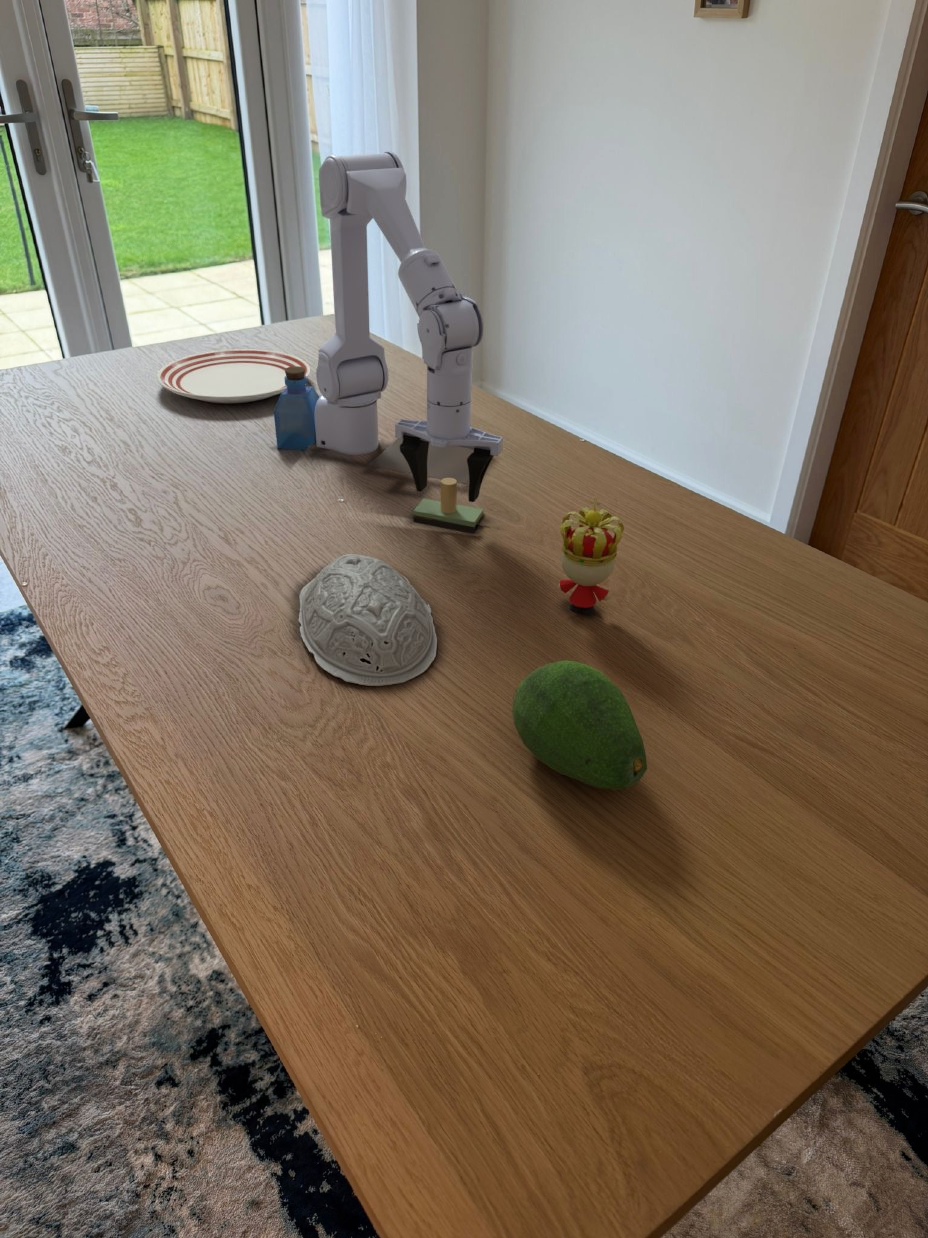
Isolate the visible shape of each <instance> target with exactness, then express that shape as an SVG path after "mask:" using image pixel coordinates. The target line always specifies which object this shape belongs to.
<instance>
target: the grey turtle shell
mask: <svg viewBox="0 0 928 1238" xmlns="http://www.w3.org/2000/svg"><path fill="white" fill-rule="evenodd" d="M298 598H299V603H300V604H299V606H300V607H299V613H298V616H299V617H298V623H299V624H300V627H299V631H300V637H301V639H302V641H303V643H304V645H305V647H306V648H307V650H308V652H309V653H311V654H313V657H314V660H315V662H316V663H317V665H318V666H319V667H320V668H322V670H324V671H326V672H327V673H329V674H330V675H332V676H334V677H336V678H340V679H341V680H343V682H346V683H352V684H358V685H360V686H368V687H382V686H392V685H399V684H404V683H406V682H408V681H410V680H412V679H414V678H416V677H418V676H420V675H421V674H423V673H424V672H426V671H427V670H428V669H429V667H430V666H431V664H432V663H433V661H435V658H436V656H437V647H438V638H437V633H436V627H435V625H434V618H433V616H432V612H433V611H432V608H431V606H430V603H428V602H427V601H426V602H425V600H424V599H422V597H421V595H420V593H418V591H417V590H416V588H414V586H413V585H411V582H410V581H409V579H408V578H407V577H406V576H404V575H403V574H401V573H400V572H399V571H397V569H395V568H394V567H393V565H391V564H389V563H387V562H386V561H383V560H381V559H379V558H375V557H371V556H370V555H365V554H356V553H353V554H352V553H346V554H343V555H341V556H336V558H335V559H333V560H332V561H331V562H329V564H327V565H325V566H324V567H323V568H322V569H321V570H320V572H319V573H316V576H315V577H314V578H312V579H311V580H310V581H309V582H308V583H307V584H306V585H305V586H303V587H302V589H301V590H300V592H299V596H298ZM344 653H345V654H344ZM367 654H368V655H367ZM361 659H364V660H366V661H369V662H370V663H368V662H366V661H364V662H363V661H362V660H361ZM377 667H378V669H377Z"/></svg>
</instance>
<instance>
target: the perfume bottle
mask: <svg viewBox="0 0 928 1238" xmlns="http://www.w3.org/2000/svg"><path fill="white" fill-rule="evenodd" d="M285 373H286V376H285V378H284V379H285V385H287V387H286V388H285V389H284V391H283V392H282V393H280V394H279V398H278V399H277V400H278V401H277V402H276V405H275V407H274V409H273V419H274V428H275V437H276V447H277V449H283V450H299V451H307V450H308V449H309V448H310V446H312V445H315V444H316V431H315V417H314V415H315V407H316V403H317V401H318V399H319V397H320V395H319V394H318V393H317V391H316V390H315V389H314V387H313V386H309V385H308V386H307V384H308V377H306V375H304V374H305V368H303V367H298V366H293V367H288V368H286V369H285Z"/></svg>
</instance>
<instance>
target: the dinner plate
mask: <svg viewBox="0 0 928 1238" xmlns="http://www.w3.org/2000/svg"><path fill="white" fill-rule="evenodd" d="M293 366H298V367H303V368H305V374H304V375H306V377H307V378H308V377H309V375H310V374H311V367H310V365H309V364H308V362H306V361H305V360H304V359H302V358H300V357H298V356H296V355H293V354H291V353H286V352H282V351H276V350H268V349H255V348H233V349H231V348H230V349H220V350H212V351H206V352H204V351H203V352H198V353H194V354H190V355H186V356H183V357H180V358H177V359H175V360H172V361H170V362H168V363H167V364H165V365H164V366H162V367H161V368H160V369H159V370H158V372H157V374H156V380H157V382H158V384H159V385H160V386H161V387H163V388H164V389H166V390H167V391H170V392H171V393H174V394H176V395H179V396H182V397H184V398H185V397H186V398H188V399H192V400H193V399H194V400H197V401H203V402H208V403H213V404H245V403H252V402H257V401H260V400H265V399H268V398H270V397H274V396H276V395H281V393H282V392H283V391H284V389H285V388H286V387H287V385H285V379H284V378H285V376H286V373H285V369H286V368H288V367H293Z"/></svg>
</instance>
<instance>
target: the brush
mask: <svg viewBox="0 0 928 1238" xmlns="http://www.w3.org/2000/svg"><path fill="white" fill-rule="evenodd" d="M457 491H458V483H457V480H456V479H454V478H444V479H442V480H441V479H440V500H435V499H429V498H422V499H421V500H420V502H419V503H418V504H417V506H416V507H415V508H414V509H413V510H412V514H413V517H412V522H413V523H415V524H416V523H417V524H422V525H426V526H432V527H438V528H444V529H447V530H453V531H458V532H463V533H468V534H475V533H476V532H477V530H478V529H479V527H480V526H481V524H478V522H479V521H480V519H481V518H482V516H483V515H484V511H485V510H484V508H478V507H474V506H467V505H463V504H457V499H458V497H457V496H458V495H457V493H458V492H457ZM414 516H415V517H414ZM416 516H417V517H416Z"/></svg>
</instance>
